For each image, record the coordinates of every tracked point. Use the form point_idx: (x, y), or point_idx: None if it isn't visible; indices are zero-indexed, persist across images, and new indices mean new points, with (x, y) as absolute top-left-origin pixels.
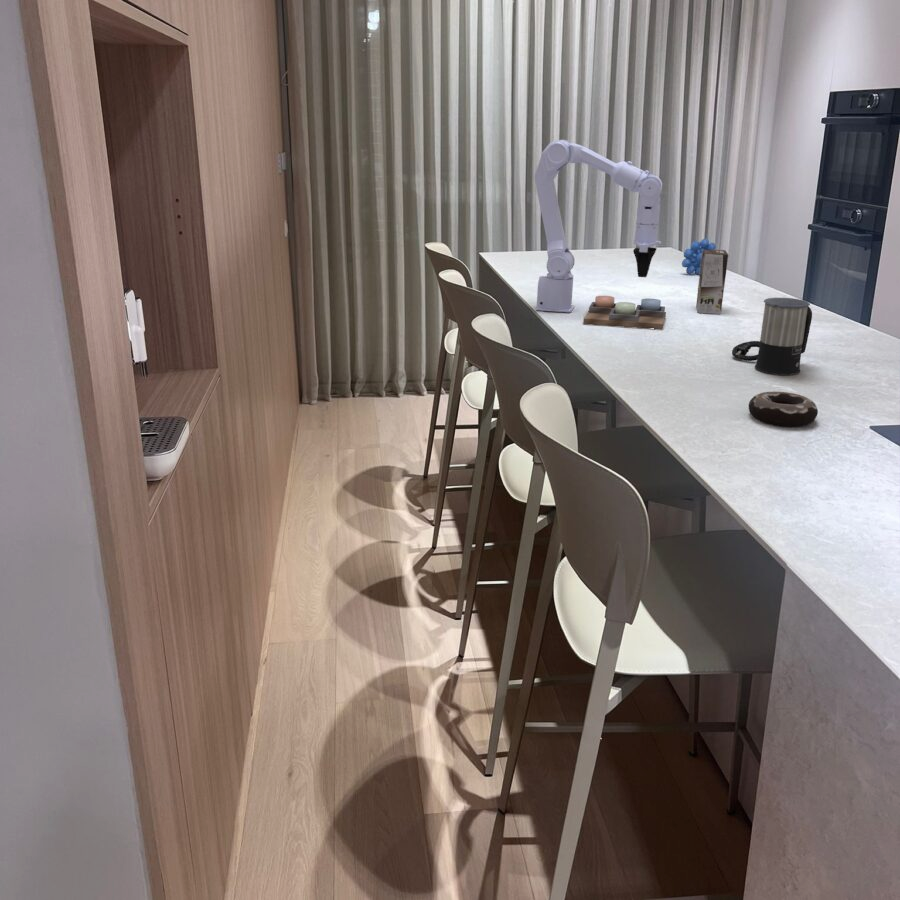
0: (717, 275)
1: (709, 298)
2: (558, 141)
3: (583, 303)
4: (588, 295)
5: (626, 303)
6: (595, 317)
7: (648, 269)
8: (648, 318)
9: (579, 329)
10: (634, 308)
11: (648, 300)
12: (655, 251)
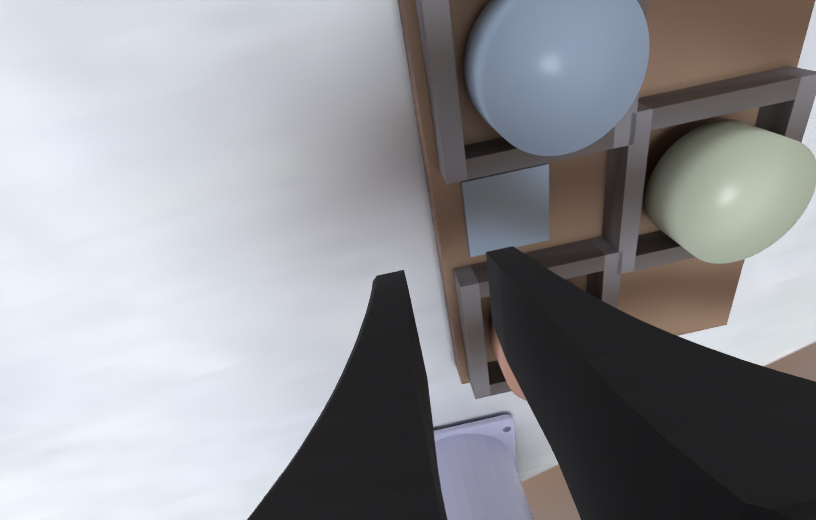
0: None
1: None
2: None
3: (277, 444)
4: (78, 490)
5: (728, 206)
6: (697, 293)
7: (565, 282)
8: (677, 23)
9: (803, 288)
10: (768, 131)
11: (577, 93)
12: (809, 517)
